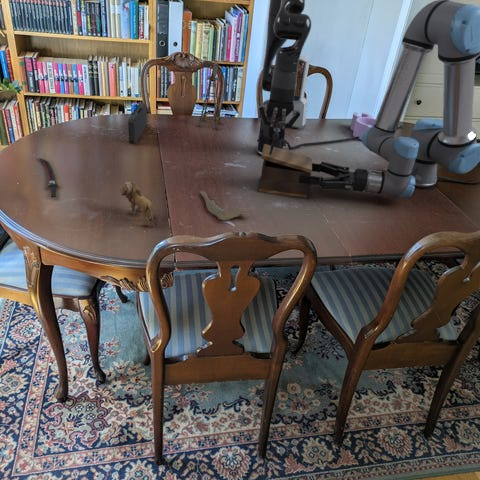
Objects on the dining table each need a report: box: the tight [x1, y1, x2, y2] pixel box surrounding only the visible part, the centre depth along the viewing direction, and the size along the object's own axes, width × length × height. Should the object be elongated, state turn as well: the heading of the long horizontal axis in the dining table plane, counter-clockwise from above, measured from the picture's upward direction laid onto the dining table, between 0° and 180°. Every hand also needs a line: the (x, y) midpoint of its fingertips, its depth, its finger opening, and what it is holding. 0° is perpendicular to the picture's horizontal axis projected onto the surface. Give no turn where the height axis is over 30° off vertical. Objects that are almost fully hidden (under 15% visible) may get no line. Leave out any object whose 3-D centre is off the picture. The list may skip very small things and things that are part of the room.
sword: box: [40, 158, 59, 198], centre depth 151 cm, size 31×3×1 cm, turn 26°
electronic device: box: [286, 55, 311, 130], centre depth 209 cm, size 12×8×30 cm, turn 71°
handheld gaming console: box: [127, 102, 148, 144], centre depth 187 cm, size 23×3×10 cm, turn 178°
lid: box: [260, 128, 313, 174], centre depth 153 cm, size 17×10×9 cm, turn 83°
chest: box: [258, 159, 312, 199], centre depth 158 cm, size 16×10×9 cm, turn 83°
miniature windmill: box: [198, 54, 222, 130], centre depth 199 cm, size 9×8×30 cm
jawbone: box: [199, 190, 251, 222], centre depth 143 cm, size 9×20×2 cm, turn 50°
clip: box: [349, 112, 376, 141], centre depth 214 cm, size 20×12×7 cm, turn 11°
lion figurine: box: [119, 181, 159, 227], centre depth 134 cm, size 15×5×9 cm, turn 50°
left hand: (275, 138), depth 152 cm, fingers closed on lid, 2 cm apart
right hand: (299, 171), depth 157 cm, fingers closed on chest, 10 cm apart
